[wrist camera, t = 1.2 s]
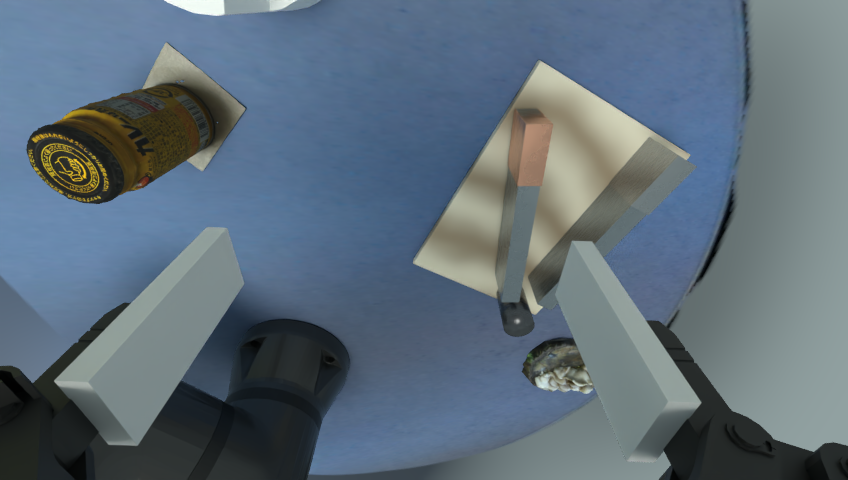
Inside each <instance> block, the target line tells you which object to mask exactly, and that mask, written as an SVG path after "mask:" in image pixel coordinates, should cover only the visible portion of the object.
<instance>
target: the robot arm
mask: <svg viewBox="0 0 848 480" xmlns="http://www.w3.org/2000/svg"><path fill="white" fill-rule="evenodd" d="M243 285H244V281H243V277H242V274H241V271H240V268H239V264H238V261H237V258H236V255H235V252H234V248H233V245H232V242H231V239H230V236H229V232H228V229H227V228H218V227H206V228H205V229H204V230H203V231H202V232H201V233H200V234H199V235H198V236H197V237H196V238H195V239H194V240H193V241H192V242H191V243H190V244H189V245H188V246H187V247H186V248H185V249H184V250H183V252H182V253H181V254H180V255H179V256H178V257H177V258H176V259H175V260H174V261H173V262H172V263H171V264H170V265H169V266H168V267H167V268H166V269H165V270H164V271H163V272H162V273H161V274H160V275H159V276H158V277H157V278H156V279H155V280H154V281H153V282H152V283H151V284H150V285H149V286H148V287H147V288H146V289H145V290H144V291H143V292H142V293H141V294H140V295H139V296H138V297H137V298H136V299H135V300H134V301H133V302H132V303H123V304H121V305H120V306H118V307H116V308H115V309H113V310H111V311H110V312H108V313H106V314H105V315H104V316H103V317H102V318H101V319H100V320H99V321H98V322H96V323H95V324H94V325H93V326H92V327H91V328H90V331H87V332H86V333H85V334H84V335H83V336H82V337H81V338H80V339H79V341H78V343H75V344H74V345H72V346H71V347H70V348H69V349H68V350H67V351H66V352H65V353H64V354H63V355H62V356H61V357H60V358H59V359H58V360H57V361H56V362H55V363H54V364H53V365H52V366H51V367H50V368H48V369H47V370H46V371H45V372H44V373H43V374H42V375H41V376H40V377H39V378H38V379H37V380H36V381H35V382H34V383H31V381H30V380H29V379H28V378H27V377H26V376H25V375H24V374H23V373H22V371H20V369H18V368H16V367H13V366H0V480H307V478H308V474H309V470H310V466H311V462H312V459H313V455H314V451H315V447H316V443H317V439H318V435H319V431H320V427H321V423H322V420H323V418H324V416H325V415H326V413H327V411H328V410H329V408H330V407H331V405H332V403H333V402H334V400H335V399H336V397H337V396H338V394H339V392H340V391H341V389H342V388H343V386H344V384H345V381H346V378H347V374H348V369H349V356H348V354H347V351H346V350H345V348H344V346H343V345H342V344H341V343H340V342H339V341H338V340H337V339H336V338H335V337H334V336H332V335H331V334H330V333H328V332H326V331H324V330H323V329H321V328H318V327H316V326H313V325H311V324H307V323H304V322H299V321H293V320H274V321H268V322H264V323H261V324H258V325H256V326H254V327H252V328H251V329H250V330H248V331H247V332H246V333H245V335H244V336H243V338H242V340H241V341H240V343H239V345H238V347H237V349H236V351H235V354H234V358H233V365H232V371H231V378H230V385H229V392H228V396H227V398H226V400H225V402H223V401H221V400H220V399H218V398H216V397H214V396H212V395H210V394H208V393H206V392H204V391H202V390H200V389H197V388H195V387H193V386H191V385H189V384H187V383H185V382H183V381H181V379H182V378H183V376H184V375H185V373H186V372H187V370H188V368H189V367H190V365H191V364H192V362H193V361H194V359H195V358H196V356H197V355H198V353H199V352H200V350H201V349H202V347H203V346H204V344H205V343H206V341H207V340H208V338H209V337H210V335H211V334H212V332H213V331H214V329H215V328H216V326H217V325H218V323H219V322H220V320H221V319H222V317H223V315H224V314H225V312H226V311H227V309H228V308H229V306H230V305H231V303H232V302H233V300H234V299H235V297H236V296H237V294H238V293H239V291H240V290H241V288H242V287H243ZM555 296H556V298H557V301H558V303H559V305H560V308H561V310H562V312H563V315H564V317H565V319H566V322H567V324H568V326H569V329H570V331H571V333H572V336H573V338H574V340H575V343H576V345H577V347H578V350H579V352H580V354H581V357H582V359H583V361H584V364H585V366H586V368H587V371H588V373H589V375H590V378H591V380H592V382H593V385H594V387H595V389H596V392H597V394H598V396H599V399H600V401H601V403H602V406H603V408H604V410H605V413H606V415H607V417H608V420H609V422H610V424H611V427H612V429H613V431H614V434H615V436H616V438H617V441H618V443H619V445H620V448H621V450H622V452H623V455H624V457H625V459H626V461H627V462H655V461H656V460H657V459H658V457H659V456H660V455H661V453H662V452H663V451H664V452H665V454H666V455H667V458H668V460H669V461H670V463H671V466H670V467H669V468H668V469H667V470H666V472H665V473H664V474H663V475H662V476H661V478H660V479H659V480H848V446H846V445H842V444H838V443H825V444H823V445H822V446H821V447H820V448H818V449H817V450H816V451H815V452H812V451H809V450H805V449H802V448H799V447H796V446H793V445H789V444H786V443H783V442H780V441H777V440H774V439H773V438H772V437H771V435H770V434H769V433H767V432H766V431H765V430H764V429H763V428H762V427H761V426H760V425H759V424H757V423H756V422H754V421H752V420H751V419H749V418H748V417H746V416H743V415H741V414H738V413H736V412H732V411H731V409H730V408H729V407H728V405H727V404H726V403H725V401H724V400H723V399H722V397H721V396H720V395H719V393H718V392H717V391H716V389H715V388H714V387H713V385H712V384H711V382H710V381H709V380H708V378H707V377H706V376H705V374H704V373H703V372H702V371H701V369H700V368H699V366H698V365H697V364H696V363H694V360H693V358H692V357H691V355H690V354H689V353H688V351H685V347H684V346H683V345H682V343H681V342H680V341H679V339H678V338H677V336H676V335H675V334H674V333H673V332H672V331H670V330H669V329H668V328H667V327H666V326H664V325H663V324H662V323H661V322H659V321H647V320H645V319H644V317H643V316H642V314H641V313H640V311H639V310H638V308H637V307H636V305H635V304H634V303H633V301H632V300H631V298H630V297H629V295H628V294H627V292H626V291H625V289H624V288H623V286H622V285H621V283H620V282H619V280H618V279H617V278H616V276H615V275H614V273H613V272H612V270H611V269H610V267H609V266H608V264H607V263H606V261H605V260H604V258H603V257H602V255H601V254H600V253H599V251H598V250H597V248H596V247H595V245H594V244H593V242H592V241H572V243H571V246H570V249H569V252H568V255H567V258H566V262H565V265H564V268H563V271H562V274H561V277H560V281H559V284H558V287H557V290H556V293H555Z"/></svg>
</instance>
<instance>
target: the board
mask: <svg viewBox="0 0 848 480" xmlns="http://www.w3.org/2000/svg"><path fill="white" fill-rule="evenodd" d="M514 109H539V110H540V111H541V112H542V113H543V114H544V115H545V116H546V117H547V118H548V119H549V120H550V121H551V122H552V123H553V129H552V135H551V140H550V145H549V151H548V156H547V162H546V167H545V172H544V178H543V183H542V186H540V191H539V196H538V202H537V207H536V213H535V218H534V224H533V229H532V234H531V240H530V245H529V251H528V256H527V262H526V267H525V273H524V278H523V284H522V287H523V289H524V292H525V295H526V298H527V302H528V305H529V308H530V311H531V313H532V314H535V315H536V314H537V313H538V312H539V311H540V310H541V309H542V308H543V306H540V305H538V304H537V302H536V299H535V296H534V293H533V291H532V288H531V285H530V282H529V279H528V275H529V274H530V273H531V272H532V271H533V270H534V269H535V267H536V266H537V265H538V264H539V263H540V262H541V261H542V259H543V258H544V257H545V256H546V255H547V254H548V253H549V252H550V250H551V249H552V248H553V247H554V246H555V245H556V244H557V242H558V241H559V240H560V239H561V238H562V237H563V236H564V234H565V233H566V232H567V231H568V230H569V229H570V228H571V227H572V225H573V224H574V223H575V222H576V221H577V220H578V219H579V217H580V216H581V215H582V214H583V213H584V212H585V211H586V210H587V208H588V207H589V206H590V205H591V204H592V203H593V202H594V200H595V199H596V198H597V197H598V196H599V195H600V194H601V192H602V191H603V190H604V189H605V188H606V187H607V186H608V185H609V182H610V181H611V180H612V179H613V177H614V176H615V175H616V174H617V173H618V172H619V171H620V170H621V168H622V167H623V166H624V165H625V164H626V163H627V162H628V160H629V159H630V158H631V157H632V156H633V155H634V154H635V152H636V151H637V150H638V149H639V148H640V147H641V146H642V144H643V143H644V142H645V141H646V140H647V139H648V138H649V137H650V138H652V139H653V140H655V141H657V142H658V143H660V144H662V145H663V146H665V147H666V148H668V149H670V150H671V151H673V152H674V153H676V154H677V155H679V156H681V157H682V158H684V159H685V160H687V159H688V158H689V157H690V156H691V155H690V154H688V153H686V152H685V151H683V150H682V149H680V148H678V147H677V146H675V145H674V144H672V143H671V142H669V141H667V140H666V139H664V138H663V137H661V136H659V135H658V134H656V133H655V132H653V131H651V130H650V129H648V128H647V127H645V126H644V125H642V124H640V123H639V122H637V121H636V120H634V119H632V118H631V117H629V116H628V115H626V114H624V113H623V112H621V111H620V110H618V109H617V108H615V107H613V106H612V105H610V104H609V103H607V102H605V101H604V100H602V99H601V98H599V97H598V96H596V95H594V94H593V93H591V92H590V91H588V90H586V89H585V88H583V87H582V86H580V85H578V84H577V83H575V82H574V81H572V80H571V79H569V78H567V77H566V76H564V75H563V74H561V73H559V72H558V71H556V70H555V69H553V68H551V67H550V66H548V65H547V64H545V63H544V62H542V61H540V60H538V61H537V63H536V64H535V66H534V68H533V69H532V71H531V72H530V74H529V76H528V77H527V79H526V80H525V82H524V84H523V85H522V87H521V88H520V90H519V92H518V93H517V95H516V96H515V98H514V99H513V101H512V103H511V104H510V106H509V107H508V109H507V111H506V112H505V114H504V115H503V117H502V119H501V120H500V122H499V123H498V125H497V127H496V128H495V130H494V131H493V133H492V135H491V136H490V138H489V139H488V141H487V143H486V144H485V146H484V147H483V149H482V151H481V152H480V154H479V155H478V157H477V159H476V160H475V162H474V163H473V165H472V167H471V168H470V170H469V171H468V173H467V174H466V176H465V178H464V179H463V181H462V182H461V184H460V186H459V187H458V189H457V190H456V192H455V194H454V195H453V197H452V198H451V200H450V202H449V203H448V205H447V206H446V208H445V210H444V211H443V213H442V214H441V216H440V218H439V219H438V221H437V222H436V224H435V226H434V227H433V229H432V230H431V232H430V234H429V235H428V237H427V238H426V240H425V242H424V243H423V245H422V246H421V248H420V249H419V251H418V253H417V254H416V256H415V257H414V259H413V264H415V265H418V266H420V267H422V268H425V269H427V270H430V271H432V272H434V273H437V274H439V275H442V276H444V277H446V278H449V279H451V280H453V281H456V282H458V283H461V284H463V285H465V286H468V287H470V288H473V289H475V290H477V291H480V292H482V293H485V294H487V295H489V296H492V297H494V298H496V299H497V295H496V293H497V290H498V285H497V281H496V277H495V270H496V262H497V254H498V246H499V238H500V230H501V222H502V214H503V206H504V198H505V190H506V182H507V174H508V157H509V149H510V141H511V133H512V124H513V116H514Z"/></svg>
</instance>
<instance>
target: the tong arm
mask: <svg viewBox="0 0 848 480" xmlns="http://www.w3.org/2000/svg"><path fill="white" fill-rule="evenodd" d="M552 129H553V123H552V122H551V121H550V120H549V119H548V118H547V117H546V116H545V115H544V114H543V113H542V112H541V111H540V110H539V109H514V116H513V124H512V133H511V141H510V149H509V157H508V174H507V182H506V190H505V198H504V206H503V214H502V222H501V230H500V238H499V246H498V254H497V262H496V270H495V277H496V281H497V285H498V290H499V294H500V298H501V302H519V300H520V295H521V289H522V284H523V278H524V273H525V267H526V262H527V256H528V251H529V245H530V240H531V234H532V229H533V224H534V218H535V213H536V207H537V202H538V196H539V191H540V186H542V183H543V178H544V172H545V167H546V162H547V156H548V151H549V145H550V140H551V135H552Z"/></svg>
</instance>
